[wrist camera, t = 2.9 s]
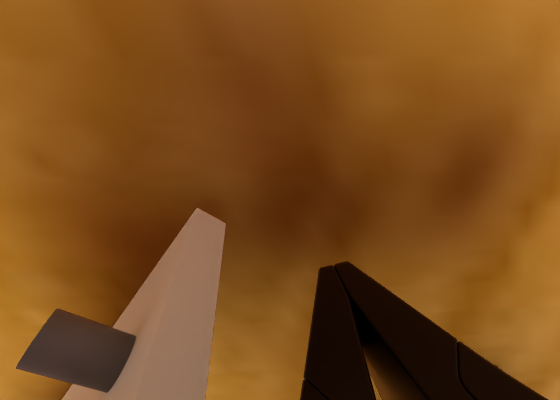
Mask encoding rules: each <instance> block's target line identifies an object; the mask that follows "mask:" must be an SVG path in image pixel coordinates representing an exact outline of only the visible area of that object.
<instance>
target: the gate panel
mask: <svg viewBox="0 0 560 400" xmlns="http://www.w3.org/2000/svg"><path fill="white" fill-rule="evenodd" d="M225 228H226V223H224V222H222V221H221V220H219V219H217V218H215V217H213V216H212V215H210V214H208V213H206V212H204V211H203V210H201V209H199V208H196V209H195V211H194V212H193V214H192V215H191V216H190V218H189V219H188V221H187V222H186V224H185V225H184V226H183V228H182V229H181V231H180V232H179V233H178V235H177V236H176V238H175V239H174V241H173V242H172V243H171V245H170V246H169V248H168V249H167V251H166V252H165V253H164V255H163V256H162V258H161V259H160V260H159V262H158V263H157V265H156V266H155V268H154V269H153V270H152V272H151V273H150V275H149V276H148V278H147V279H146V280H145V282H144V283H143V285H142V286H141V287H140V289H139V290H138V292H137V293H136V295H135V296H134V297H133V299H132V300H131V302H130V303H129V305H128V306H127V307H126V309H125V310H124V312H123V313H122V314H121V316H120V317H119V319H118V320H117V322H116V323H115V324H114V326H113V327H109V326H106V325H104V324H101V323H98V322H95V321H92V320H89V319H86V318H84V317H81V316H78V315H75V314H72V313H69V312H66V311H64V310H61V309H58V308H57V309H56V310H55V311H54V313H53V314H52V315H51V316H50V318H49V319H48V320H47V322H46V323H45V324H44V326H43V327H42V329H41V330H40V331H39V333H38V334H37V336H36V337H35V339H34V340H33V341H32V343H31V344H30V346H29V347H28V349H27V350H26V352H25V353H24V355H23V356H22V358H21V360H20V361H19V363H18V365H17V367H16V369H20V370H23V371H27V372H31V373H35V374H38V375H42V376H46V377H50V378H53V379H57V380H61V381H64V382H68V383H72V385H71V387H70V388H69V390H68V391H67V393H66V394H65V395H64V397H63V398H62V400H205V398H206V390H207V381H208V373H209V364H210V356H211V347H212V339H213V330H214V321H215V313H216V304H217V296H218V287H219V279H220V270H221V262H222V253H223V245H224V236H225Z"/></svg>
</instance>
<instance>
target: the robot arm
mask: <svg viewBox="0 0 560 400" xmlns="http://www.w3.org/2000/svg"><path fill="white" fill-rule="evenodd" d="M369 373H370V374H369ZM370 375H371V377H372V379H373V381H374V383H375V385H376V387H377V390H378V392H379V394H380V396H381V398H382V400H548V399H546V398H545V397H543V396H541V395H540V394H538V393H537V392H535V391H533V390H532V389H530V388H529V387H527V386H526V385H524V384H522V383H521V382H519V381H518V380H516V379H514V378H513V377H511V376H510V375H508V374H506V373H505V372H503V371H502V370H501V369H499V368H498V367H496V366H495V365H493V364H492V363H490V362H489V361H487V360H486V359H484V358H483V357H481V356H480V355H479V354H477V353H476V352H474V351H473V350H471V349H470V348H469V347H467V346H466V345H465V344H463V343H462V342H460V341H459V342H458V343H457V339H456V338H455V337H453V336H452V335H450V334H449V333H448V332H446V331H445V330H443V329H442V328H441V327H439V326H438V325H436V324H435V323H434V322H432V321H431V320H429V319H428V318H427V317H425V316H424V315H422V314H421V313H420V312H418V311H417V310H415V309H414V308H413V307H411V306H410V305H408V304H407V303H406V302H404V301H403V300H401V299H400V298H399V297H397V296H396V295H395V294H393V293H392V292H390V291H389V290H388V289H386V288H385V287H383V286H382V285H381V284H379V283H378V282H376V281H375V280H374V279H372V278H371V277H369V276H368V275H367V274H365V273H364V272H362V271H361V270H360V269H358V268H357V267H355V266H354V265H353V264H351V263H350V262H348V261H345V262H341V263H337V264H335V265H334V266H333V265H329V266H325V267H321V268H320V269H319V273H318V280H317V287H316V294H315V301H314V308H313V315H312V322H311V329H310V336H309V343H308V350H307V357H306V364H305V371H304V380H303V383H302V390H301V397H300V400H376V397H375V393H374V389H373V385H372V382H371V378H370Z"/></svg>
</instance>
